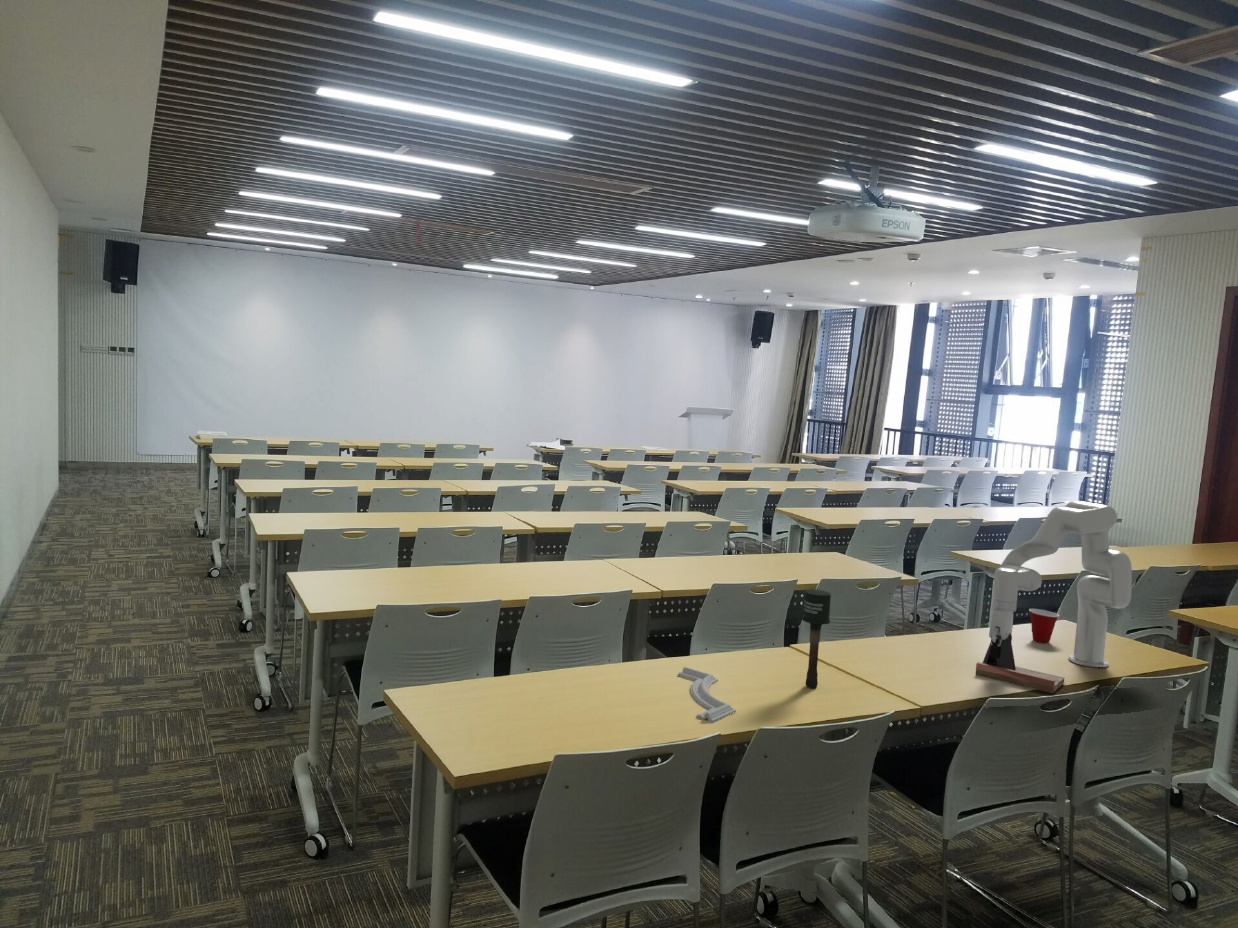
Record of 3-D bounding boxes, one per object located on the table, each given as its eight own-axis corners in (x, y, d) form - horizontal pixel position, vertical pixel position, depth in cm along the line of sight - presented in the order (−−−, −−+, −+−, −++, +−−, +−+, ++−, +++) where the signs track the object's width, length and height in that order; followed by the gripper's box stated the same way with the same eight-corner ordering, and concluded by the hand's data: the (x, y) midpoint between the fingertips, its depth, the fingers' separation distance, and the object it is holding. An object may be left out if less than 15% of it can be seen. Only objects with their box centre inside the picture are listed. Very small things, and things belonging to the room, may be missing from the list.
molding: (675, 674, 277) (676, 665, 277) (713, 674, 279) (713, 665, 278) (698, 724, 235) (699, 714, 235) (742, 725, 236) (743, 714, 236)
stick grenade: (792, 683, 272) (798, 589, 270) (815, 681, 275) (822, 588, 273) (807, 692, 264) (813, 595, 262) (830, 690, 267) (837, 595, 265)
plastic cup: (1063, 645, 333) (1066, 615, 332) (1037, 645, 332) (1040, 614, 331) (1045, 637, 344) (1048, 607, 343) (1020, 637, 342) (1023, 607, 341)
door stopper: (1015, 671, 290) (1018, 636, 289) (1000, 672, 288) (1003, 637, 287) (997, 662, 298) (999, 628, 297) (982, 663, 297) (985, 629, 296)
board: (988, 665, 302) (989, 654, 301) (1063, 683, 286) (1065, 671, 286) (975, 674, 291) (976, 662, 291) (1052, 693, 275) (1053, 680, 275)
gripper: (1000, 598, 300) (996, 647, 302) (984, 606, 287) (979, 656, 289) (1023, 603, 296) (1018, 652, 297) (1007, 611, 282) (1003, 662, 284)
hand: (999, 654), depth 293 cm, fingers open, 9 cm apart
